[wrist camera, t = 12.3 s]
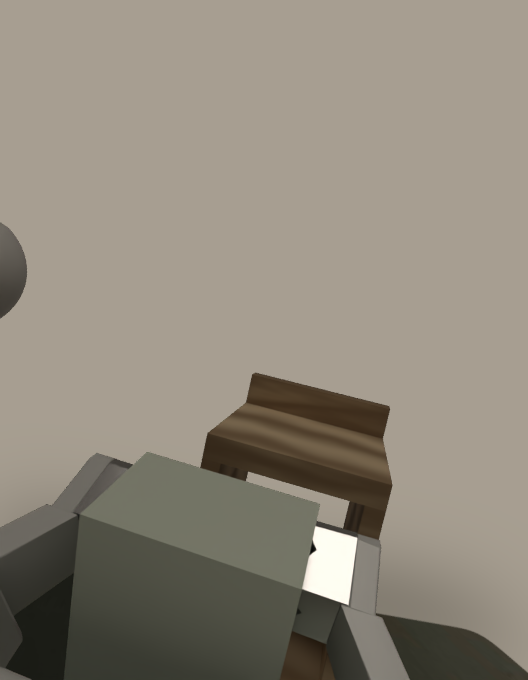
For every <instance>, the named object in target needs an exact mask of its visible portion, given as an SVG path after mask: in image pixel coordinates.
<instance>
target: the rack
mask: <svg viewBox="0 0 528 680" xmlns="http://www.w3.org/2000/svg"><path fill="white" fill-rule="evenodd" d="M389 411H390V408H389V406H386V405H382V404H378V403H374V402H370V401H366V400H362V399H358V398H354V397H350V396H346V395H342V394H338V393H334V392H330V391H326V390H323V389H318V388H315V387H311V386H307V385H302V384H299V383H294V382H291V381H286V380H283V379H279V378H275V377H270V376H267V375H262V374H259V373H254V374H252V378H251V383H250V387H249V392H248V397H247V401H246V403H245V404H244V405H243V406H241V407H240V408H239V409H237V410H236V411H235V412H234V413H232V414H231V415H230V416H229V417H227V418H226V419H225V420H224V421H222V422H221V423H220V424H219V425H217V426H216V427H215V428H214V429H212V430H211V431H210V432H208V434H207V438H206V443H205V448H204V453H203V458H202V463H201V467H200V468H202V469H206V470H209V471H212V472H216V473H219V474H222V475H226V476H229V477H232V478H236V479H239V480H242V481H246V478H247V474H248V471H249V472H252V473H255V474H259V475H262V476H266V477H269V478H273V479H276V480H279V481H283V482H286V483H290V484H293V485H296V486H300V487H303V488H307V489H310V490H314V491H317V492H320V493H324V494H328V495H331V496H334V497H338V498H341V499H344V500H348V501H350V502H349V506H348V511H347V515H346V519H345V523H344V527H343V529H346V530H349V531H353V532H356V533H357V534H360V535H364V536H367V537H371V538H374V539H378V540H379V536H380V532H381V528H382V524H383V520H384V516H385V512H386V508H387V505H388V500H389V497H390V492H391V489H392V481H391V476H390V471H389V466H388V462H387V457H386V452H385V447H384V442H383V436H384V432H385V427H386V423H387V419H388V415H389ZM280 680H335V677H334V673H333V670H332V666H331V663H330V660H329V656H328V653H327V649H326V644H325V643H322V642H319V641H317V640H314V639H312V638H309V637H307V636H304V635H301V634H299V633H296V632H294V631H292V632H291V636H290V640H289V644H288V648H287V652H286V656H285V660H284V664H283V668H282V672H281V676H280Z"/></svg>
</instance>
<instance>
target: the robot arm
mask: <svg viewBox="0 0 528 680" xmlns="http://www.w3.org/2000/svg"><path fill="white" fill-rule="evenodd" d="M26 277H27V265H26V259H25V255H24V252H23V250H22V247H21V245H20V243H19V241H18V240H17V238H16V237H15V235H14V234H13V233H12V231H11V230H10V229H9V228H8V227H6V226H5V225H3V224H2V223H0V318H1V317H3V316H4V315H6V314H7V313H8V312H9V311H10V310H11V309H12V308H13V307H14V306H15V304H16V303H17V302H18V300H19V298H20V297H21V294H22V293H23V290H24V287H25V283H26ZM131 466H133V464H130V463H126V462H123V461H120V460H117V459H115V458H112V457H108V456H105V455H101V454H98V453H96V454H95V455H93V456H92V457H91V458H90V459H89V460H88V461H87V462H86V464H85V465H84V466H83V467H82V469H81V470H80V471H79V472H78V474H77V475H76V476H75V477H74V479H73V480H72V481H71V482H70V484H69V485H68V486H67V487H66V489H65V490H64V491H63V493H62V494H61V495H60V496H59V498H58V499H57V500H56V501H55V503H54V504H53V505H52V506H51V505H48V504H46V505H44V506H42V507H40V508H38V509H36V510H34V511H32V512H30V513H28V514H26V515H24V516H22V517H20V518H18V519H16V520H14V521H12V522H10V523H9V524H6V525H4V526H2V527H1V528H0V680H31V679H29V678H26V677H24V676H22V675H19V674H17V673H14V672H12V671H10V670H7V669H5V667H6V665H7V664H8V662H9V661H10V659H11V658H12V656H13V655H14V653H15V651H16V650H17V648H18V647H19V645H20V644H21V642H22V633H21V631H20V629H19V627H18V625H17V623H16V620H15V618H14V615H15V614H16V613H18V612H19V611H21V610H22V609H23V608H25V607H26V606H28V605H29V604H30V603H32V602H33V601H35V600H36V599H37V598H39V597H40V596H42V595H43V594H44V593H46V592H47V591H49V590H50V589H51V588H53V587H54V586H56V585H57V584H58V583H60V582H61V581H63V580H64V579H65V578H67V577H68V576H70V575H71V574H72V573H74V570H75V559H76V549H77V538H78V528H79V517H80V514H81V513H82V512H83V511H84V510H85V509H86V508H87V507H88V506H89V505H90V504H91V503H92V502H94V501H95V500H96V499H97V498H98V497H99V496H100V495H101V494H102V493H103V492H104V491H105V490H107V489H108V488H109V487H110V486H111V485H112V484H113V483H114V482H115V481H116V480H117V479H118V478H120V477H121V476H122V475H123V474H124V473H125V472H126V471H127V470H128V469H129V468H130V467H131ZM380 553H381V544H380V540H378V539H374V538H371V537H367V536H364V535H360V534H357V533H356V532H353V531H349V530H346V529H342V528H339V527H335V526H332V525H329V524H325V523H322V522H318V521H316V526H315V531H314V535H313V540H312V545H311V550H310V554H309V559H308V564H307V568H306V573H305V578H304V583H303V587H302V592H301V596H300V600H299V604H298V608H297V612H296V616H295V620H294V624H293V628H292V631H294V632H296V633H299V634H301V635H304V636H307V637H309V638H312V639H314V640H317V641H319V642H322V643H325V644H326V649H327V653H328V656H329V660H330V663H331V666H332V670H333V673H334V677H335V680H410V679H409V677H408V675H407V672H406V670H405V668H404V666H403V663H402V661H401V659H400V657H399V654H398V652H397V650H396V648H395V645H394V643H393V641H392V639H391V636H390V634H389V632H388V630H387V627H386V625H385V623H384V621H383V618H381V617H379V616H376V615H375V614H376V601H377V589H378V578H379V566H380Z"/></svg>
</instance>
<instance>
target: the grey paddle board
mask: <svg viewBox="0 0 528 680" xmlns="http://www.w3.org/2000/svg"><path fill="white" fill-rule="evenodd" d="M319 507H320V504H318V503H315V502H312V501H308V500H305V499H301V498H298V497H295V496H292V495H289V494H285V493H282V492H279V491H275V490H272V489H269V488H265V487H262V486H259V485H255V484H252V483H249V482H246V481H242V480H239V479H236V478H232V477H229V476H226V475H222V474H219V473H216V472H212V471H209V470H206V469H202V468H199V467H196V466H192V465H189V464H186V463H182V462H179V461H176V460H173V459H169V458H166V457H162V456H159V455H156V454H153V453H149V452H147V453H146V454H144V455H143V456H142V457H141V458H140V459H139V460H138V461H137V462H136V463H135V464H134V465H133V466H131V467H130V468H129V469H128V470H127V471H126V472H125V473H124V474H123V475H122V476H121V477H120V478H118V479H117V480H116V481H115V482H114V483H113V484H112V485H111V486H110V487H109V488H108V489H107V490H105V491H104V492H103V493H102V494H101V495H100V496H99V497H98V498H97V499H96V500H95V501H94V502H92V503H91V504H90V505H89V506H88V507H87V508H86V509H85V510H84V511H83V512H82V513H81V514H80V517H79V528H78V538H77V549H76V559H75V570H74V580H73V590H72V601H71V611H70V622H69V632H68V643H67V653H66V664H65V674H64V680H280V676H281V672H282V668H283V664H284V660H285V656H286V652H287V648H288V644H289V640H290V636H291V632H292V628H293V624H294V620H295V616H296V612H297V608H298V604H299V600H300V596H301V592H302V587H303V583H304V578H305V573H306V568H307V564H308V559H309V554H310V550H311V545H312V540H313V535H314V531H315V526H316V521H317V516H318V511H319Z"/></svg>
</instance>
